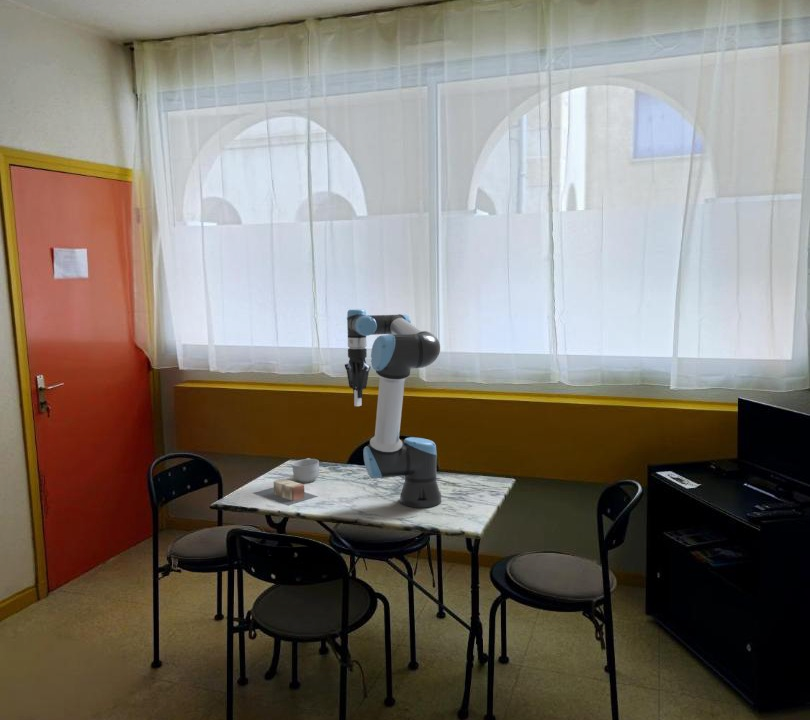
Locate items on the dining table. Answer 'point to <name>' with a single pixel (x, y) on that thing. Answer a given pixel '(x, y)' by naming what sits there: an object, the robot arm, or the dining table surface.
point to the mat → (270, 495)
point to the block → (289, 489)
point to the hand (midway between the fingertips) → (358, 405)
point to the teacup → (306, 470)
